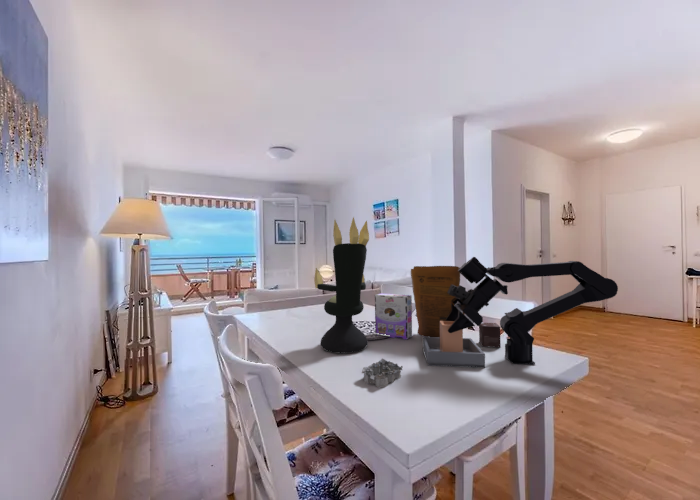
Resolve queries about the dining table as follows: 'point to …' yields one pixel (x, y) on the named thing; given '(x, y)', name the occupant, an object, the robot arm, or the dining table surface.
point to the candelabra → (346, 291)
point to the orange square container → (450, 338)
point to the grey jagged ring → (387, 370)
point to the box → (489, 335)
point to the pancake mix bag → (433, 296)
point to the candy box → (393, 315)
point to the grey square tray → (453, 354)
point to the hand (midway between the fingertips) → (446, 328)
